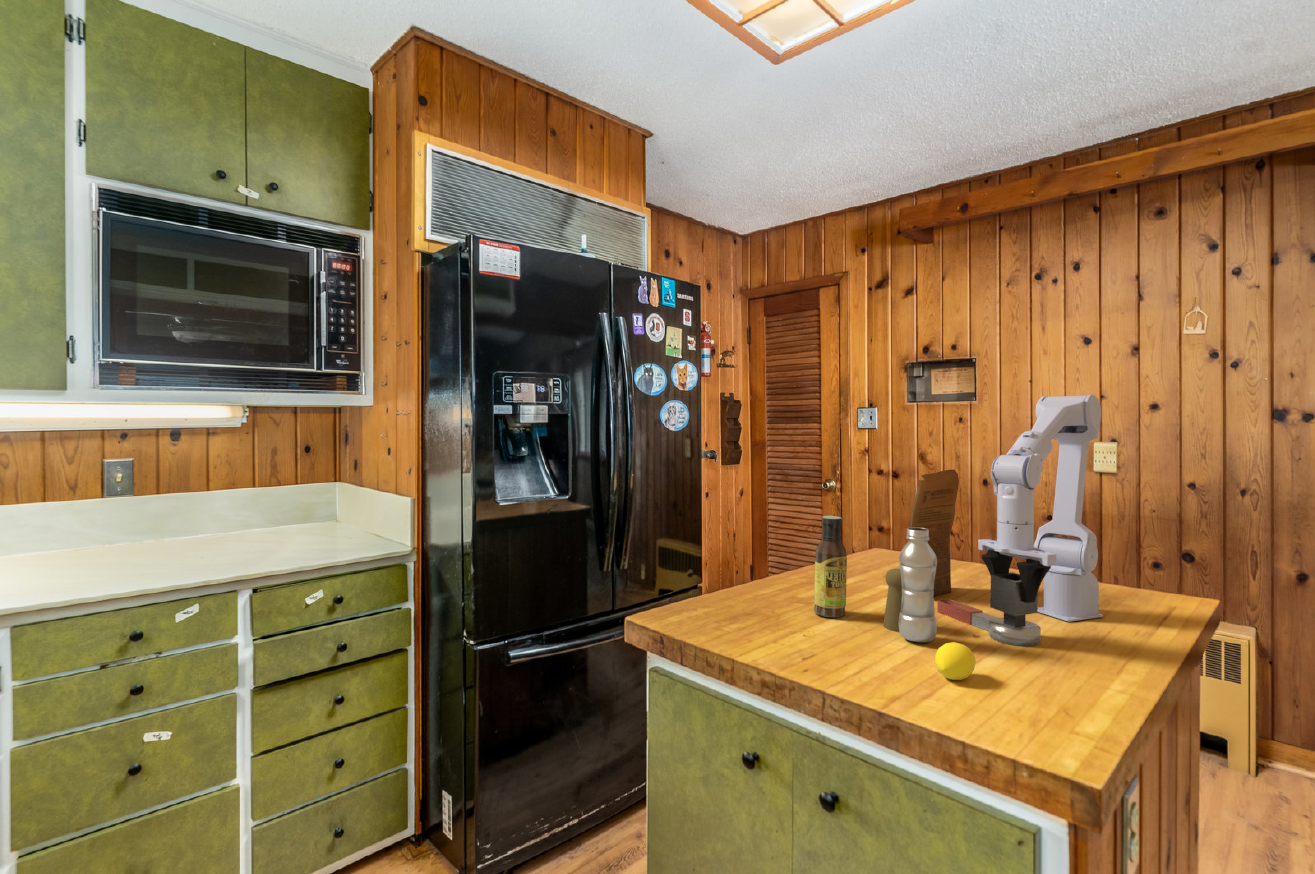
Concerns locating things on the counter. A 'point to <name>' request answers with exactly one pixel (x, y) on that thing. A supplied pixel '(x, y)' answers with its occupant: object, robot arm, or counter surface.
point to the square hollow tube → (1010, 595)
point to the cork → (893, 600)
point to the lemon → (955, 661)
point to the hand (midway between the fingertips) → (1014, 597)
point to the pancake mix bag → (937, 520)
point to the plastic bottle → (917, 587)
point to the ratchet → (994, 623)
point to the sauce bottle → (830, 570)
